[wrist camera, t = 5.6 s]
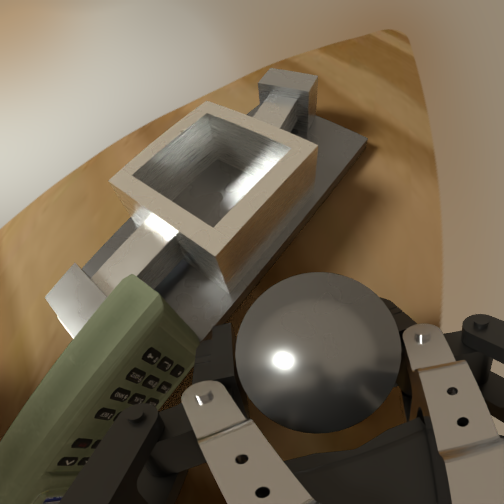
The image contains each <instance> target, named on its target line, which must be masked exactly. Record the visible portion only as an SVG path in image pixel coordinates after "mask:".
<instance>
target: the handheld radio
mask: <svg viewBox="0 0 504 504" xmlns="http://www.w3.org/2000/svg"><path fill="white" fill-rule="evenodd" d="M199 345H200V344H199V339H198V336H197V334H196V333H195V332H194V331H193V330H192V329H191V328H190V327H189V326H188V325H187V324H186V323H185V322H184V320H183V319H182V318H181V317H180V316H179V315H178V314H177V313H176V312H175V311H174V310H173V308H172V307H171V306H170V305H169V304H168V303H167V302H166V301H165V300H164V298H163V297H162V296H161V295H160V294H159V293H158V292H156V291H155V290H154V289H152V288H151V287H150V286H148V285H147V284H146V283H144V282H143V281H142V280H141V279H139V278H138V277H137V276H135V275H134V274H131V275H129V276H127V277H125V278H124V279H122V280H121V282H120V283H119V284H118V285H117V286H116V287H115V289H114V290H113V291H112V292H111V293H110V294H109V296H108V297H107V298H106V299H105V300H104V302H103V303H102V304H101V305H100V306H99V308H98V309H97V310H96V311H95V313H94V314H93V315H92V316H91V317H90V319H89V320H88V321H87V322H86V324H85V325H84V326H83V327H82V329H81V330H80V331H79V332H78V334H77V335H76V336H75V338H74V339H73V340H72V341H71V343H70V344H69V345H68V347H67V348H66V349H65V350H64V352H63V353H62V354H61V356H60V357H59V358H58V360H57V361H56V362H55V364H54V365H53V366H52V368H51V369H50V370H49V372H48V373H47V374H46V376H45V377H44V379H43V380H42V381H41V383H40V384H39V385H38V387H37V388H36V390H35V391H34V392H33V394H32V395H31V397H30V398H29V400H28V401H27V402H26V404H25V405H24V407H23V408H22V410H21V411H20V413H19V414H18V416H17V417H16V418H15V420H14V421H13V423H12V424H11V426H10V428H9V429H8V431H7V432H6V434H5V435H4V437H3V438H2V440H1V441H0V504H58V503H59V502H60V500H61V499H62V497H63V496H64V494H65V493H66V491H67V490H68V489H69V487H70V486H71V484H72V483H73V481H74V480H75V478H76V477H77V475H78V474H79V472H80V471H81V469H82V468H83V466H84V465H85V464H86V462H87V461H88V459H89V458H90V456H91V455H92V453H93V452H94V450H95V449H96V448H97V446H98V445H99V443H100V442H101V440H102V439H103V437H104V436H105V434H106V433H107V432H108V430H109V429H110V427H111V426H112V424H113V423H114V421H115V420H116V419H117V417H118V416H119V414H120V413H121V412H122V411H123V410H125V409H126V408H128V407H130V406H132V405H135V404H140V403H147V404H151V405H153V406H155V407H156V409H157V410H159V409H160V408H161V406H162V405H163V404H164V403H165V401H166V400H167V399H168V398H169V396H170V395H171V394H172V393H173V391H174V390H175V389H176V388H177V386H178V385H179V384H180V383H181V381H182V380H183V379H184V378H185V376H186V375H187V374H188V372H189V371H190V370H191V369H192V367H193V366H194V365H195V364H194V363H195V354H196V349H197V347H198V346H199Z"/></svg>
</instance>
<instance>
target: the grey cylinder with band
mask: <svg viewBox="0 0 504 504" xmlns="http://www.w3.org/2000/svg"><path fill="white" fill-rule="evenodd" d="M235 357H236V367H237V371H238V375H239V378H240V381H241V384H242V386H243V388H244V390H245V392H246V393H247V395H248V397H249V398H250V400H251V401H252V402H253V404H254V405H255V406H256V407H257V408H258V409H259V410H260V411H261V412H262V413H263V414H264V415H266V416H267V417H268V418H270V419H271V420H273V421H274V422H276V423H278V424H280V425H282V426H284V427H287V428H289V429H292V430H296V431H300V432H305V433H330V432H335V431H340V430H343V429H346V428H349V427H351V426H353V425H355V424H357V423H359V422H361V421H363V420H364V419H366V418H367V417H368V416H370V415H371V414H372V413H373V412H374V411H376V410H377V409H378V408H379V407H380V405H381V404H382V403H383V402H384V401H385V400H386V398H387V396H388V395H389V393H390V392H391V390H392V388H393V386H394V384H395V382H396V379H397V376H398V373H399V368H400V363H401V341H400V336H399V331H398V328H397V325H396V323H395V320H394V318H393V316H392V314H391V312H390V311H389V309H388V308H387V306H386V305H385V303H384V302H383V301H382V300H381V299H380V298H379V297H378V296H377V295H376V294H375V293H374V292H373V291H372V290H370V289H369V288H368V287H366V286H365V285H363V284H361V283H360V282H358V281H356V280H354V279H351V278H348V277H346V276H343V275H338V274H334V273H325V272H312V273H305V274H300V275H296V276H292V277H290V278H287V279H285V280H282V281H280V282H279V283H277V284H275V285H273V286H272V287H270V288H269V289H268V290H266V291H265V292H264V293H263V294H262V295H261V296H260V297H258V299H257V300H256V301H255V302H254V303H253V304H252V306H251V307H250V309H249V310H248V312H247V313H246V315H245V317H244V319H243V321H242V323H241V326H240V329H239V332H238V336H237V341H236V352H235Z"/></svg>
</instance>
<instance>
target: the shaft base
mask: <svg viewBox="0 0 504 504" xmlns="http://www.w3.org/2000/svg"><path fill="white" fill-rule="evenodd" d="M317 85H318V76H315V75H310V74H305V73H299V72H293V71H287V70H280V69H273V68H270V69H269V70H268V72H267V73H266V74H265V75H264V76H263V78H262V79H261V80H260V81H259V82H258V88H259V99H260V104H259V105H258V106H257V107H256V108H254V109H253V110H252V111H250V112H249V113H248V114H247V115H245V114H242V113H240V112H237V111H234V110H232V109H229V108H226V107H223V106H220V105H218V104H215V103H212V102H209V101H206V102H204V103H203V104H201V105H200V106H199V107H197V108H196V109H195V110H193V111H192V112H191V113H189V114H188V115H187V116H185V117H184V118H183V119H181V120H180V121H179V122H177V123H176V124H175V125H173V126H172V127H171V128H170V129H168V130H167V131H166V132H165V133H163V134H162V135H161V136H160V137H158V138H157V139H156V140H155V141H154V142H152V143H151V144H150V145H149V146H147V147H146V148H145V149H144V150H143V151H142V152H140V153H139V154H138V155H137V156H136V157H135V158H133V159H132V160H131V161H130V162H129V163H128V164H126V165H125V166H124V167H123V168H122V169H121V170H120V171H119V172H118V173H116V174H115V175H114V176H113V177H112V178H111V179H110V180H109V183H110V184H111V186H112V188H113V189H114V191H115V192H116V194H117V196H118V197H119V199H120V201H121V202H122V204H123V205H124V207H125V209H126V210H127V212H128V213H129V215H130V216H131V217H130V218H129V219H128V220H127V221H126V222H125V223H124V224H123V225H122V227H121V228H120V229H119V230H118V231H117V232H116V233H115V234H114V235H113V236H112V237H111V238H110V239H109V240H108V241H107V242H106V243H105V244H104V245H103V246H102V247H101V248H100V249H99V250H98V252H97V253H96V254H95V255H94V256H93V257H92V258H91V259H90V260H89V261H88V262H87V263H86V265H85V266H84V267H83V268H82V269H81V268H80V267H79V266H78V265H77V264H76V263H74V264H73V265H72V266H71V268H70V269H69V270H68V271H67V272H66V273H65V274H64V275H63V277H62V278H61V279H60V280H59V281H58V282H57V284H56V285H55V286H54V287H53V288H52V289H51V291H50V292H49V293H48V294H47V295H46V297H45V299H46V300H47V301H48V303H49V304H50V306H51V307H52V308H53V310H54V311H55V313H56V314H57V315H58V317H57V318H58V319H59V321H60V322H61V323H62V325H63V326H64V327H65V329H66V330H67V331H68V333H69V334H70V335H71V336H72V338H73V339H74V338H75V336H76V335H77V334H78V332H79V331H80V330H81V329H82V327H83V326H84V325H85V324H86V322H87V321H88V320H89V319H90V317H91V316H92V315H93V314H94V313H95V311H96V310H97V309H98V308H99V306H100V305H101V304H102V303H103V302H104V300H105V299H106V298H107V297H108V296H109V294H110V293H111V292H112V291H113V290H114V289H115V287H116V286H117V285H118V284H119V283H120V282H121V280H122V279H124V278H125V277H127V276H129V275H131V274H134V275H135V276H137V277H138V278H139V279H141V280H142V281H143V282H144V283H146V284H147V285H148V286H150V287H151V288H152V289H154V290H155V291H156V292H158V293H159V294H160V295H161V296H162V297H163V298H164V300H165V301H166V302H167V303H168V304H169V305H170V306H171V307H172V308H173V310H174V311H175V312H176V313H177V314H178V315H179V316H180V317H181V318H182V319H183V320H184V322H185V323H186V324H187V325H188V326H189V327H190V328H191V329H192V330H193V331H194V332H195V333H196V334H197V336H198V339H199V344H200V343H201V342H202V341H206V340H211V339H212V329H213V326H218V325H222V324H224V323H225V322H226V321H227V320H228V319H229V317H230V316H231V315H232V314H233V313H234V311H235V310H236V309H237V308H238V307H239V305H240V304H241V303H242V302H243V301H244V299H245V298H246V297H247V296H248V295H249V293H250V292H251V291H252V290H253V289H254V287H255V286H256V285H257V284H258V282H259V281H260V280H261V279H262V278H263V276H264V275H265V274H266V273H267V271H268V270H269V269H270V268H271V267H272V265H273V264H274V263H275V262H276V260H277V259H278V258H279V257H280V256H281V254H282V253H283V252H284V251H285V249H286V248H287V247H288V246H289V244H290V243H291V242H292V241H293V239H294V238H295V237H296V236H297V235H298V233H299V232H300V231H301V230H302V228H303V227H304V226H305V225H306V223H307V222H308V221H309V220H310V218H311V217H312V216H313V215H314V213H315V212H316V211H317V210H318V208H319V207H320V206H321V204H322V203H323V202H324V201H325V199H326V198H327V197H328V196H329V194H330V193H331V192H332V191H333V189H334V188H335V187H336V185H337V184H338V183H339V182H340V180H341V179H342V178H343V177H344V175H345V174H346V173H347V171H348V170H349V169H350V168H351V166H352V165H353V164H354V162H355V161H356V160H357V159H358V157H359V156H360V155H361V153H362V152H363V151H364V150H365V148H366V144H367V140H368V138H366V137H364V136H362V135H360V134H358V133H355V132H353V131H351V130H349V129H347V128H344V127H342V126H340V125H337V124H335V123H333V122H330V121H328V120H326V119H323V118H321V117H319V116H316V104H317Z"/></svg>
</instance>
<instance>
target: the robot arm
mask: <svg viewBox="0 0 504 504" xmlns="http://www.w3.org/2000/svg"><path fill="white" fill-rule="evenodd" d="M380 299H381V300H382V301H383V302H384V303H385V305H386V306H387V308H388V309H389V311H390V312H391V314H392V316H393V318H394V320H395V323H396V325H397V328H398V331H399V336H400V341H401V363H400V368H399V373H398V376H397V379H396V382H395V384H394V386H393V387H396V386H399V387H400V402H401V408H402V414H403V421H404V423H403V424H401V425H399V426H396V427H394V428H391V429H388V430H387V431H385V432H383V433H382V434H380V435H379V436H377V437H376V438H374V439H372V440H371V441H369V442H367V443H366V444H364V445H362V446H361V447H359V448H357V449H353V450H346V451H337V452H327V453H315V454H311V455H307V456H304V457H300V458H295V459H291V460H287V461H282V459H281V458H280V457H279V455H278V454H277V453H276V451H275V450H274V449H273V448H272V446H271V445H270V444H269V442H268V441H267V439H266V438H265V437H264V435H263V434H262V433H261V431H260V430H259V429H258V427H257V426H256V424H255V423H254V422H253V420H252V419H250V417H249V409H248V401H247V393H246V392H245V390H244V388H243V386H242V384H241V381H240V378H239V375H238V371H237V367H236V357H235V352H236V337H235V333H234V330H233V326H232V324H231V323H227V324H222V325H218V326H213V329H212V339H211V340H206V341H202V342H201V343H200V345H199V346H198V347H197V349H196V354H195V363H194V364H195V365H194V371H193V380H192V386H190V387H189V388H187V389H186V390H185V391H184V393H183V394H182V397H181V401H182V403H180V404H178V405H177V406H174V407H172V408H169V409H166V410H163V411H161V412H158V410H157V409H156V407H155V406H153V405H151V404H147V403H140V404H135V405H132V406H130V407H128V408H126V409H125V410H123V411H122V412H121V413H120V414H119V416H118V417H117V419H116V420H115V421H114V423H113V424H112V426H111V427H110V429H109V430H108V432H107V433H106V434H105V436H104V437H103V439H102V440H101V442H100V443H99V445H98V446H97V448H96V449H95V450H94V452H93V453H92V455H91V456H90V458H89V459H88V461H87V462H86V464H85V465H84V466H83V468H82V469H81V471H80V472H79V474H78V475H77V477H76V478H75V480H74V481H73V483H72V484H71V486H70V487H69V489H68V490H67V491H66V493H65V494H64V496H63V497H62V499H61V500H60V502H59V503H58V504H175V502H176V499H177V497H178V495H179V492H180V490H181V487H182V485H183V482H184V480H185V477H186V475H187V472H188V469H189V468H192V467H195V466H197V465H200V464H203V463H205V462H207V463H208V465H209V468H210V470H211V472H212V474H213V476H214V478H215V480H216V482H217V484H218V486H219V488H220V490H221V492H222V494H223V496H224V498H225V500H226V502H227V504H504V436H502V435H498V433H497V430H496V428H495V425H494V422H493V420H492V417H491V415H492V416H494V417H496V418H497V419H498V420H500V421H502V422H503V423H504V378H503V377H501V376H499V375H497V374H495V373H493V372H491V371H490V369H491V365H492V361H493V359H495V360H497V361H499V362H501V363H503V364H504V321H502V320H499V319H497V318H494V317H492V316H489V315H484V314H476V315H472V316H469V317H467V318H466V319H465V320H464V321H463V326H462V331H458V332H452V333H446V334H443V333H442V331H441V329H440V328H438V327H437V326H434V325H431V324H417V323H416V322H415V321H413V320H412V319H411V318H410V317H409V316H408V315H406V314H405V313H404V312H402V310H401V309H400V308H397V306H396V305H395V304H394V303H393V302H391V301H390V300H387V299H384V298H381V297H380Z"/></svg>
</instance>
